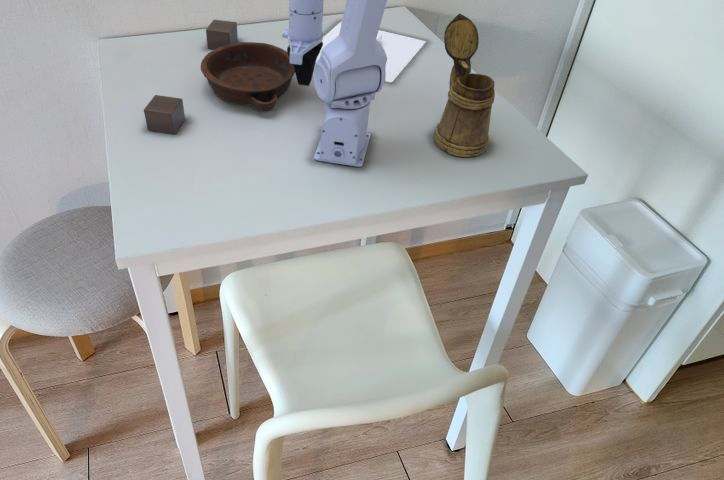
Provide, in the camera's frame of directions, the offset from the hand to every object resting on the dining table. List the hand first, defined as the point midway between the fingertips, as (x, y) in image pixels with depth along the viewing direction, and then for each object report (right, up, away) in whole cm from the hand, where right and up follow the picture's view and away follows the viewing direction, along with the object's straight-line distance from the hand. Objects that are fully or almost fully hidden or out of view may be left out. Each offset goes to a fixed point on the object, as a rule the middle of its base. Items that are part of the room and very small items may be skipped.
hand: (304, 83), depth 108 cm
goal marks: (-20, +2, +5) cm, 21 cm away
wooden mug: (+26, -11, -6) cm, 29 cm away
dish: (-10, 0, +3) cm, 11 cm away
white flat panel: (+13, +12, +15) cm, 23 cm away
